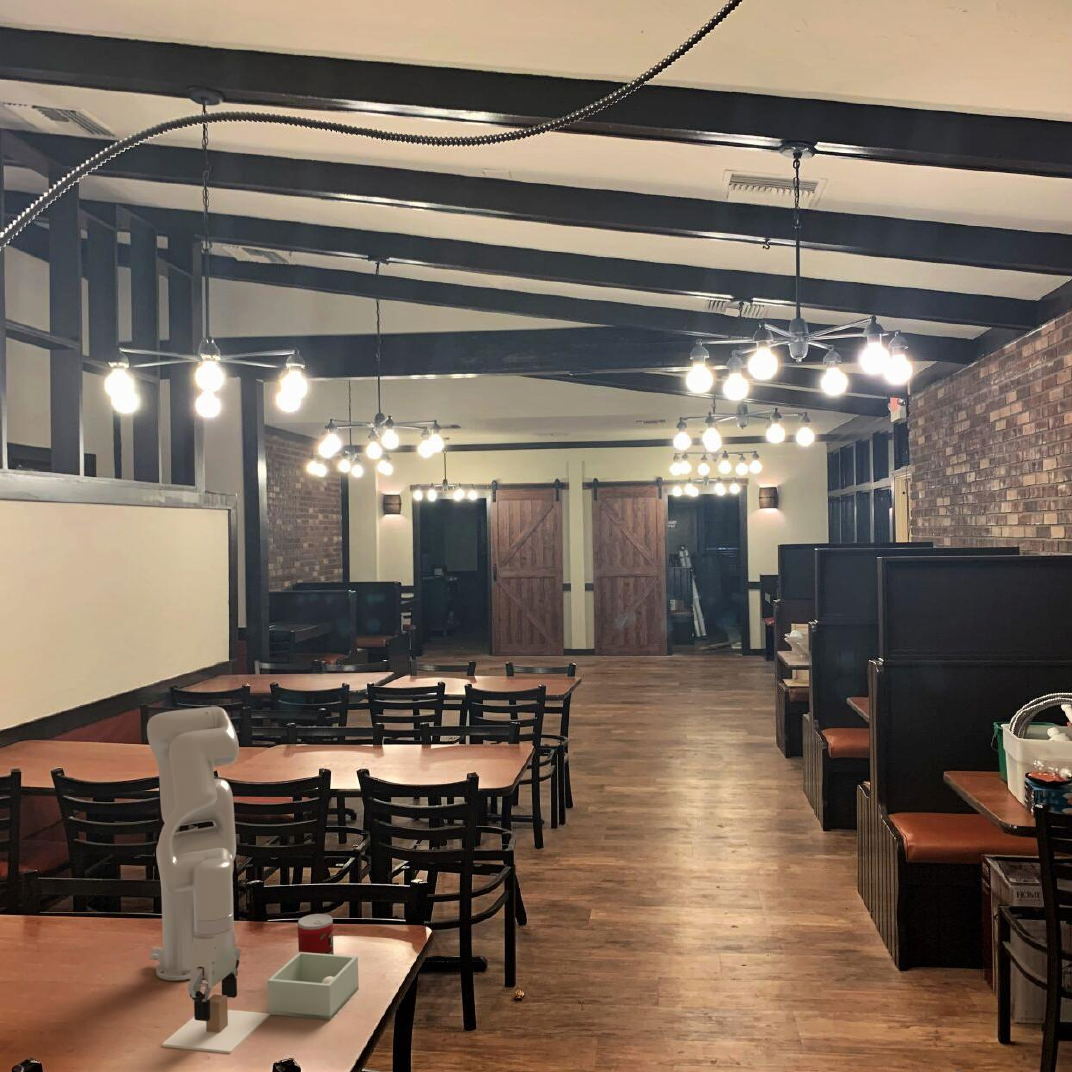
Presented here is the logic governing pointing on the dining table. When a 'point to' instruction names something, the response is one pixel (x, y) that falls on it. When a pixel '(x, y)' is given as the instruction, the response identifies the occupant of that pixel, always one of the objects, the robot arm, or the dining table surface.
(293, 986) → the box
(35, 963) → the dining table surface
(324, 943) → the canned food
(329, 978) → the ball cream
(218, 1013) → the lid
